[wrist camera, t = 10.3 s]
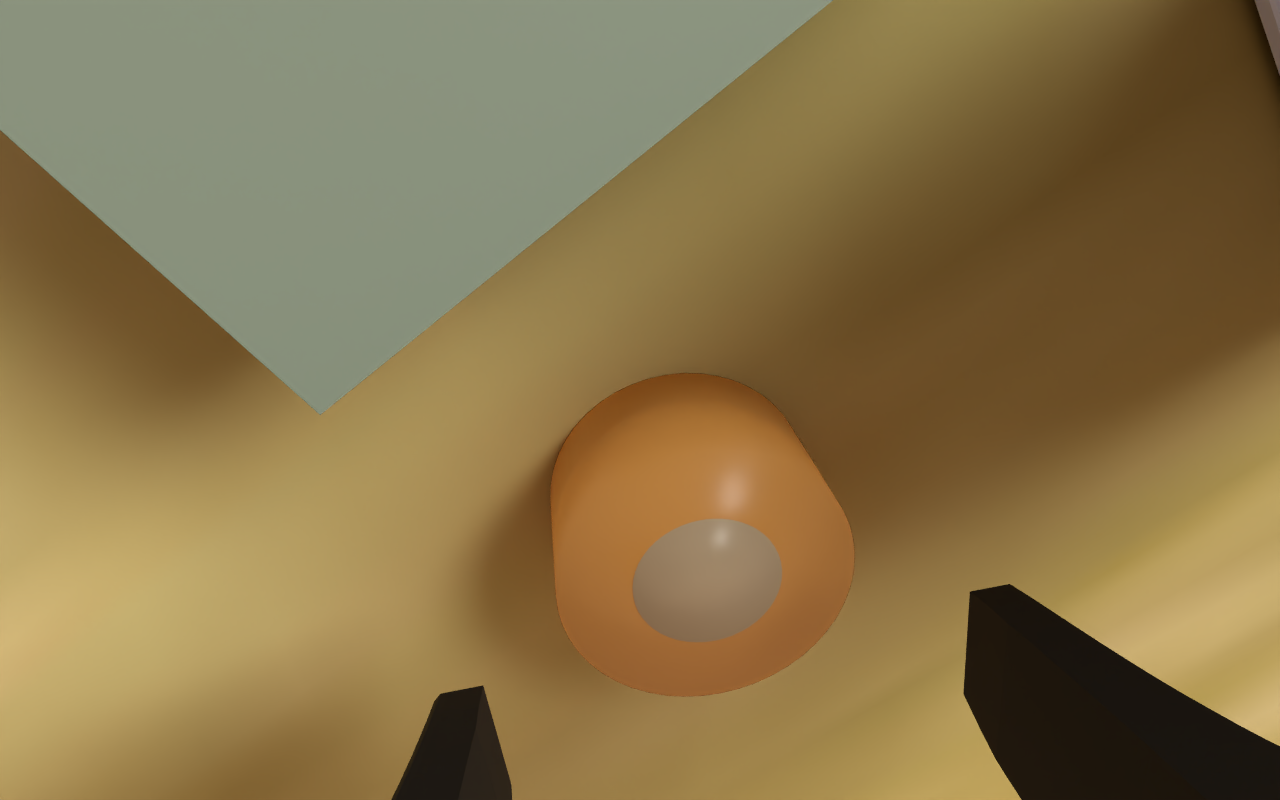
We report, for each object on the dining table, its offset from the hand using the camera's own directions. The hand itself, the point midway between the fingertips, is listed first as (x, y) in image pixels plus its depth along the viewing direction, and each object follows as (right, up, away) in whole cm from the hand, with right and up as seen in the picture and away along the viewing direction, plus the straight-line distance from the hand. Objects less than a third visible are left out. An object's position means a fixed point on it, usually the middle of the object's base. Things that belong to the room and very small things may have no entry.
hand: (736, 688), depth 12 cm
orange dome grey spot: (-1, +2, +5) cm, 5 cm away
